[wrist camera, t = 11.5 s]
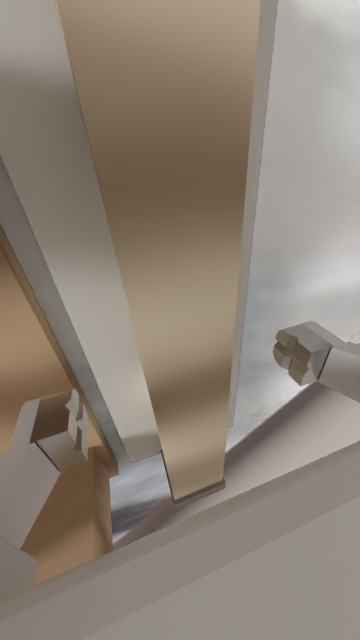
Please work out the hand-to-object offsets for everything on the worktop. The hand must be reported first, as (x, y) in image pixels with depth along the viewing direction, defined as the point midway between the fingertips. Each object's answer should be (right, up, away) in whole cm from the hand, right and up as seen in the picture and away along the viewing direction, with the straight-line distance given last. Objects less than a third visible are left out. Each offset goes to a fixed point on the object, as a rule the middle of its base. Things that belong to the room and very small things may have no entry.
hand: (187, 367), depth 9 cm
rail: (-1, +1, +2) cm, 3 cm away
